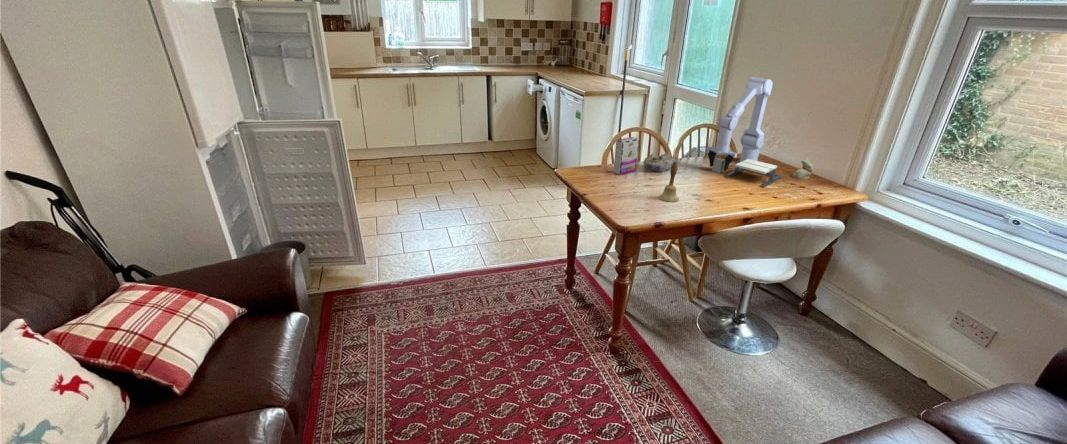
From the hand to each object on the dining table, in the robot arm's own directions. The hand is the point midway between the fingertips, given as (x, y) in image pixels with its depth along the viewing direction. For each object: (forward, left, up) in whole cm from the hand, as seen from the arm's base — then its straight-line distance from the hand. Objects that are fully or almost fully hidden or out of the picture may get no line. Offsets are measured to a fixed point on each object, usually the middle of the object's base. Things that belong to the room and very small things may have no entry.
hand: (718, 168), depth 227 cm
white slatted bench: (-4, +16, -2) cm, 17 cm away
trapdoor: (-4, +16, +4) cm, 17 cm away
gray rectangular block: (0, 0, -2) cm, 2 cm away
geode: (+21, -21, -2) cm, 30 cm away
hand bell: (+51, +4, -2) cm, 51 cm away
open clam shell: (-24, +31, -2) cm, 39 cm away
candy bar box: (+38, -29, -2) cm, 48 cm away
